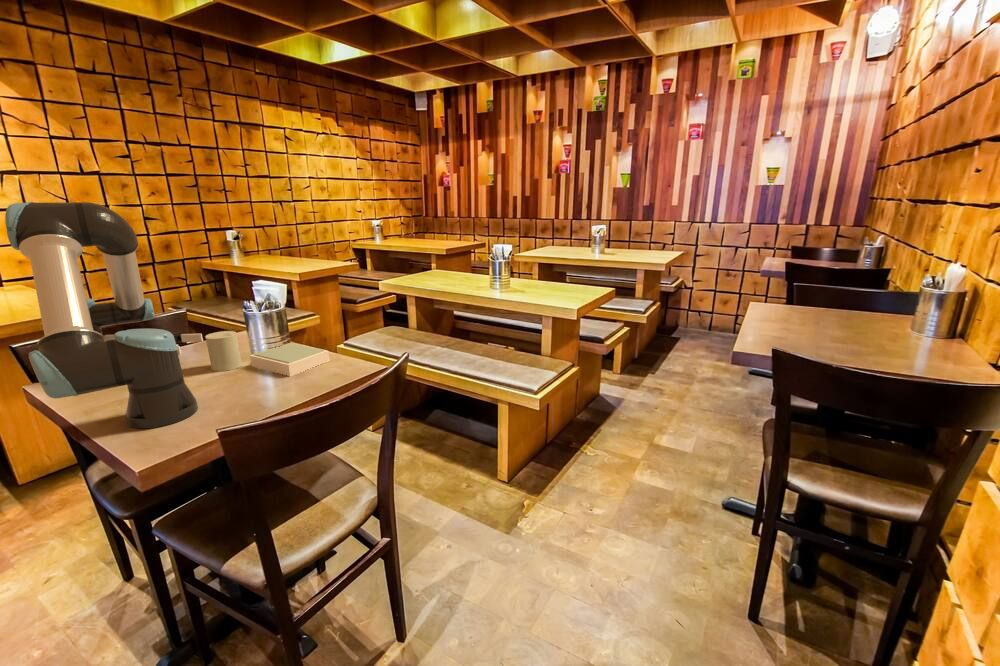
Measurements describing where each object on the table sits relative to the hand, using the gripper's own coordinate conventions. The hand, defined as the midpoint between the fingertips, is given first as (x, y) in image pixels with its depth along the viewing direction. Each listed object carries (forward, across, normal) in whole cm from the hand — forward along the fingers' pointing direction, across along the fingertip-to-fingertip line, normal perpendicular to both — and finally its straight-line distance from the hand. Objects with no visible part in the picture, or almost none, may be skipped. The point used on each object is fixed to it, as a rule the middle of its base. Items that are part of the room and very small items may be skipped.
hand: (191, 343), depth 150 cm
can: (+10, 0, -9) cm, 13 cm away
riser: (+31, 0, -8) cm, 32 cm away
